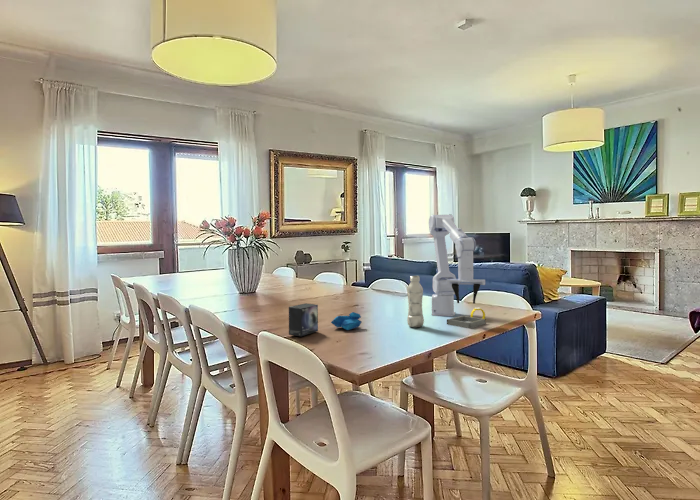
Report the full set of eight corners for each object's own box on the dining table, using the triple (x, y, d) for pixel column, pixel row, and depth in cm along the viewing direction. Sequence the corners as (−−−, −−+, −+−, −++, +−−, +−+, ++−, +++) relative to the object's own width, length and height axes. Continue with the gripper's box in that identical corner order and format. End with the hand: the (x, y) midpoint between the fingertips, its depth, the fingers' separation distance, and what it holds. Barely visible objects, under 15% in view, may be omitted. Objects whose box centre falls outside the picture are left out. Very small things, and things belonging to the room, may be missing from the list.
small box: (301, 337, 158) (301, 308, 157) (288, 335, 161) (287, 306, 161) (319, 331, 167) (318, 304, 166) (305, 329, 170) (305, 302, 170)
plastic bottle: (425, 325, 172) (424, 275, 172) (422, 329, 166) (421, 277, 165) (409, 325, 174) (408, 275, 174) (405, 328, 168) (404, 276, 167)
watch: (482, 321, 179) (482, 306, 179) (486, 322, 176) (486, 307, 176) (469, 322, 178) (469, 307, 178) (473, 323, 175) (473, 308, 175)
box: (470, 329, 164) (470, 323, 164) (446, 325, 172) (446, 319, 172) (485, 325, 171) (485, 319, 171) (462, 321, 179) (462, 315, 179)
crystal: (358, 306, 175) (330, 308, 170) (366, 318, 167) (336, 320, 163) (356, 321, 178) (328, 324, 173) (363, 334, 170) (334, 337, 166)
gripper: (445, 269, 169) (446, 304, 169) (485, 269, 165) (485, 305, 165) (447, 267, 176) (447, 301, 176) (485, 267, 171) (485, 302, 172)
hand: (466, 303), depth 171 cm, fingers open, 5 cm apart
